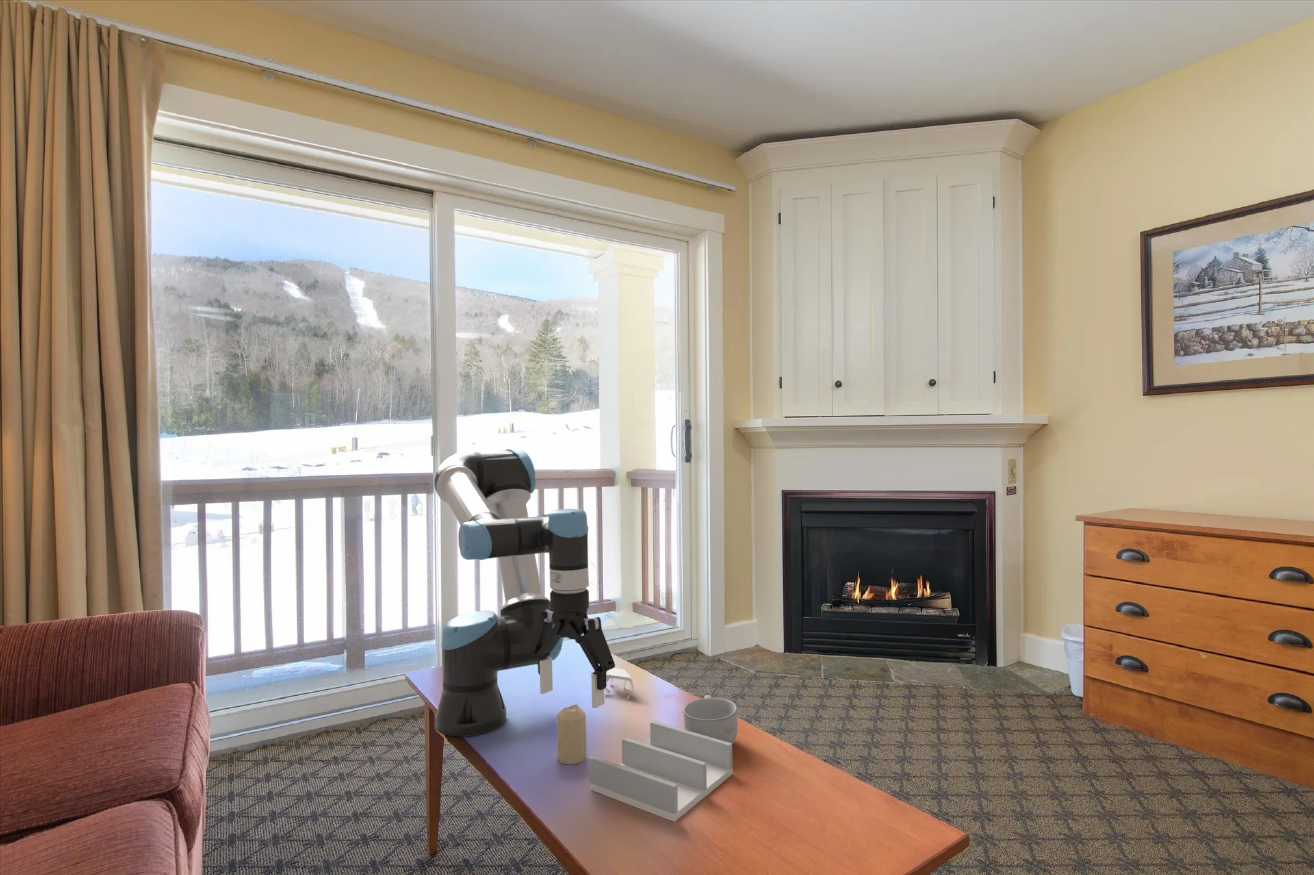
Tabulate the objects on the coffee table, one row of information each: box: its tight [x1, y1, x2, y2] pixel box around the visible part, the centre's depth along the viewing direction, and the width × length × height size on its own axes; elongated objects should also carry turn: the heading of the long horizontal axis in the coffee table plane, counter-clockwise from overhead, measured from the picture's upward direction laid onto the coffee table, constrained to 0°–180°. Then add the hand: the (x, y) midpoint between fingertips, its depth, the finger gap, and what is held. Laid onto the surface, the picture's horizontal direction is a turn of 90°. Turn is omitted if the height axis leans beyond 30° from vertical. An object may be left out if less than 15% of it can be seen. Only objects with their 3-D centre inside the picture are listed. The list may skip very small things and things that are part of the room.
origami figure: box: [604, 667, 635, 700], centre depth 169 cm, size 12×8×5 cm
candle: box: [556, 704, 587, 766], centre depth 136 cm, size 6×6×10 cm
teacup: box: [682, 694, 738, 744], centre depth 142 cm, size 14×11×8 cm
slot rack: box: [589, 720, 733, 823], centre depth 126 cm, size 18×19×6 cm
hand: (571, 698), depth 135 cm, fingers open, 13 cm apart
